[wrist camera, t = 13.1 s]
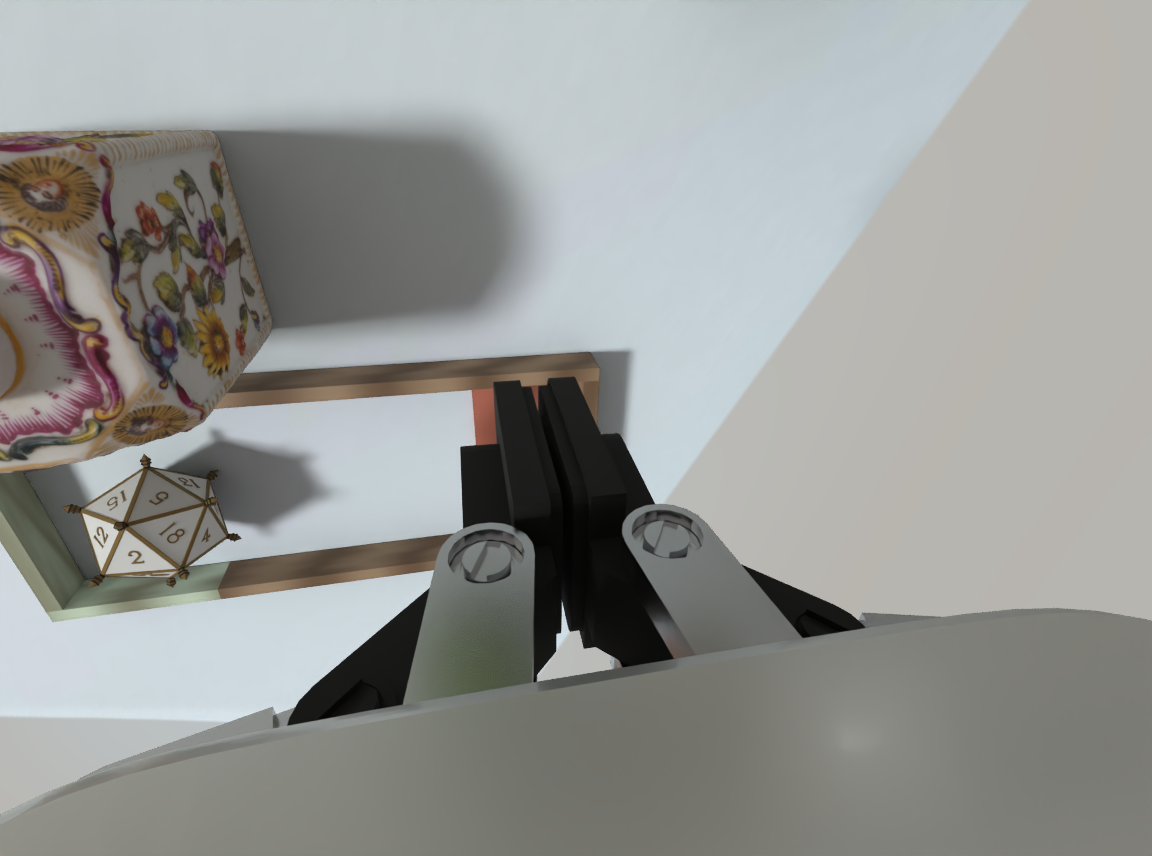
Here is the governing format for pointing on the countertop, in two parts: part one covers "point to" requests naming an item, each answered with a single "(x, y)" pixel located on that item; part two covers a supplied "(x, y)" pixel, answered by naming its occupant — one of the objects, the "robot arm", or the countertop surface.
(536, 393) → the rectangular wooden frame
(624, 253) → the countertop surface
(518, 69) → the countertop surface
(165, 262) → the decorative jar
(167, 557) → the game die
